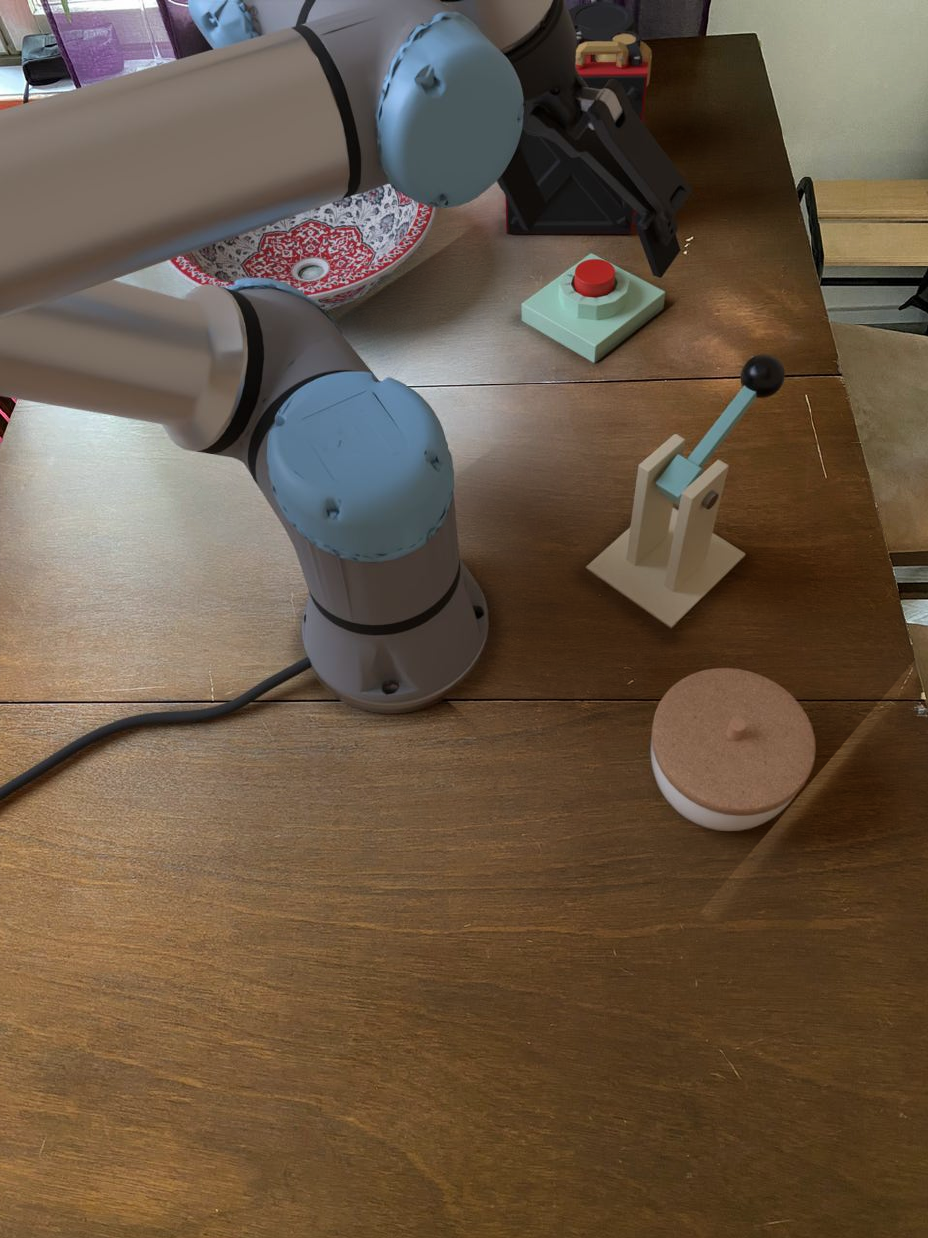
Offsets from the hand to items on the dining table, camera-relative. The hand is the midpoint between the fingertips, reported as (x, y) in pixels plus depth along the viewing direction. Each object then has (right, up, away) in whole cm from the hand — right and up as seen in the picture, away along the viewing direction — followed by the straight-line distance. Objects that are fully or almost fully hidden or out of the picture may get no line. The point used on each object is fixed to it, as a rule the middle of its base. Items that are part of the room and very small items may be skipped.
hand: (598, 239), depth 79 cm
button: (+2, +3, +19) cm, 20 cm away
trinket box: (+8, -43, -7) cm, 44 cm away
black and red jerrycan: (+1, +16, +33) cm, 36 cm away
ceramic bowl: (-28, +7, +29) cm, 41 cm away
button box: (+2, +1, +22) cm, 22 cm away
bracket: (+6, -27, +3) cm, 28 cm away
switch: (+9, -17, -4) cm, 20 cm away
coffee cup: (+4, +26, +39) cm, 47 cm away
